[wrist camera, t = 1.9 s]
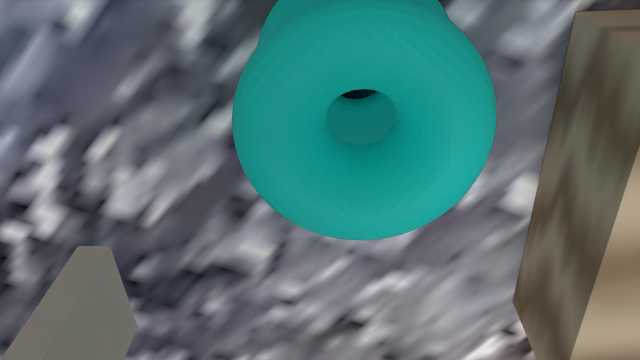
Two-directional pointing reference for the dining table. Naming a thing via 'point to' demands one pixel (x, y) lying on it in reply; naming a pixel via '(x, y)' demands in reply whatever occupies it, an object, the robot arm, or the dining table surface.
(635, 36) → the display stand
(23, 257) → the dining table surface
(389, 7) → the donuts
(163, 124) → the dining table surface
